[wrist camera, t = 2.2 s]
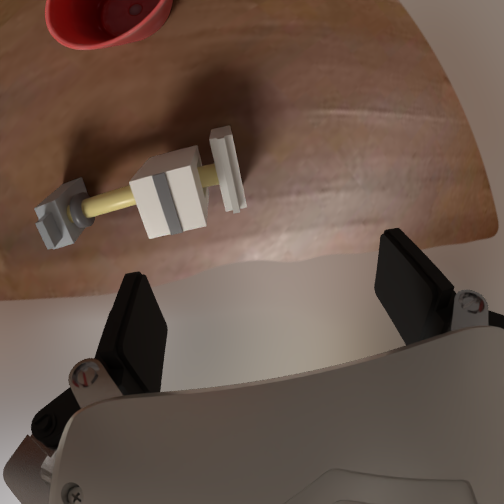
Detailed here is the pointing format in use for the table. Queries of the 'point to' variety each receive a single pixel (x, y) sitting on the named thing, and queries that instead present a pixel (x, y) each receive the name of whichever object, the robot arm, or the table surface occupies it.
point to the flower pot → (104, 21)
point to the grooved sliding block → (171, 193)
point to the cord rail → (86, 208)
